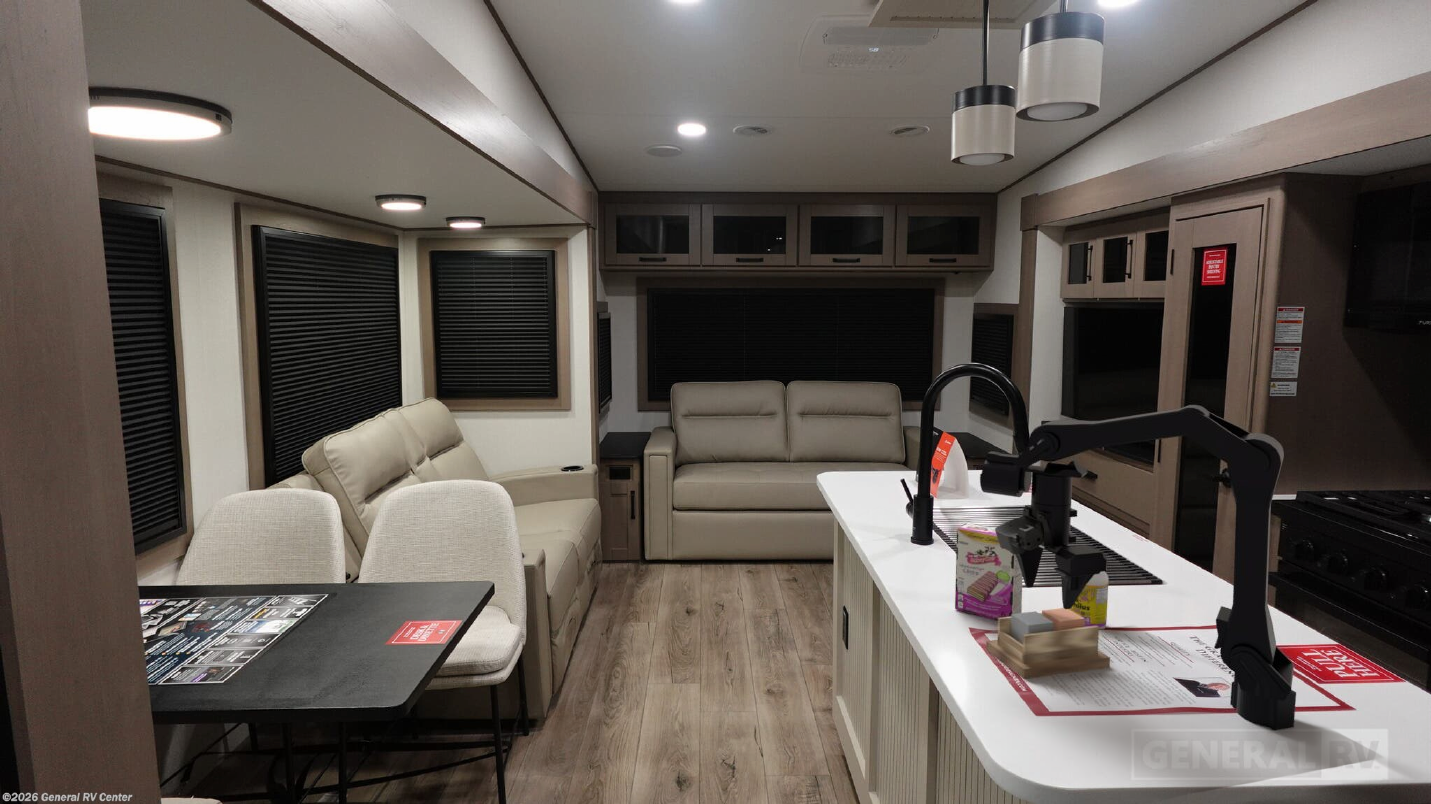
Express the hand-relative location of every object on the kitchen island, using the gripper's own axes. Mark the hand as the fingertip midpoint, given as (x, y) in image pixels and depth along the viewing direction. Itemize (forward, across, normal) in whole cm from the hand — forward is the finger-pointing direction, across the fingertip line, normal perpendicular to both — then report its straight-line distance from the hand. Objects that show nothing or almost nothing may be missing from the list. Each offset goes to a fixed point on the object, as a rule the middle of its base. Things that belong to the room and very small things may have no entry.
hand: (1047, 597), depth 116 cm
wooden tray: (+8, 0, 0) cm, 9 cm away
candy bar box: (+12, -21, +3) cm, 24 cm away
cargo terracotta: (+7, 0, +3) cm, 8 cm away
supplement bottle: (+12, -12, +17) cm, 24 cm away
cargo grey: (+7, 0, -3) cm, 8 cm away
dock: (+12, 0, 0) cm, 12 cm away
